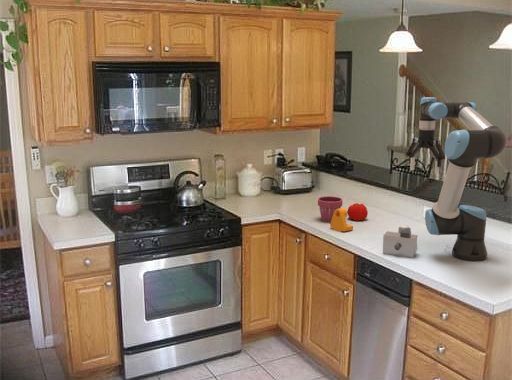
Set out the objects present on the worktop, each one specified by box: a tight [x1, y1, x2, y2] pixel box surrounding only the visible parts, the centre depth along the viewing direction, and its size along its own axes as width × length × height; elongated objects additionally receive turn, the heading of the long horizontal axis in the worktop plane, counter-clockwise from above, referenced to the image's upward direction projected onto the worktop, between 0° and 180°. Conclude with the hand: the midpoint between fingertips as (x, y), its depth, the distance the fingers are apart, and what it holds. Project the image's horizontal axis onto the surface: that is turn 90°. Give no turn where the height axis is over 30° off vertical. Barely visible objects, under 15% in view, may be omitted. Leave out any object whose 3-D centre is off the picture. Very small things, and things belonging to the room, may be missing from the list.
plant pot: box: [317, 195, 343, 223], centre depth 306 cm, size 14×14×13 cm
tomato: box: [347, 202, 369, 222], centre depth 308 cm, size 11×12×9 cm
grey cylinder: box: [397, 224, 412, 233], centre depth 255 cm, size 6×6×11 cm
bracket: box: [329, 207, 354, 232], centre depth 288 cm, size 11×7×12 cm, turn 36°
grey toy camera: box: [382, 230, 418, 259], centre depth 251 cm, size 14×20×11 cm
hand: (424, 171), depth 265 cm, fingers open, 13 cm apart
